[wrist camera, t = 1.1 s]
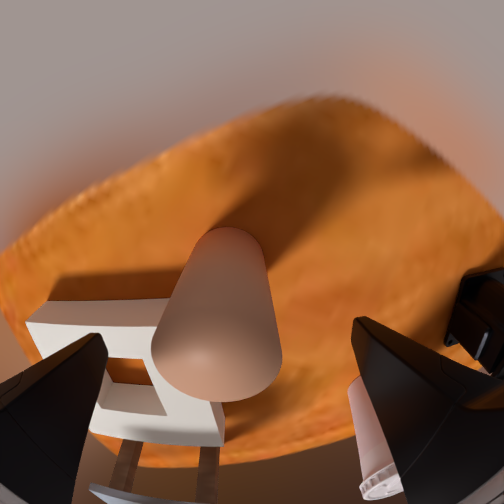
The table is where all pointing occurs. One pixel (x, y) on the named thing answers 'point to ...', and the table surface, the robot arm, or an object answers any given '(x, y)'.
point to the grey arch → (124, 500)
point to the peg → (220, 322)
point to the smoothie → (372, 447)
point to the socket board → (129, 395)
